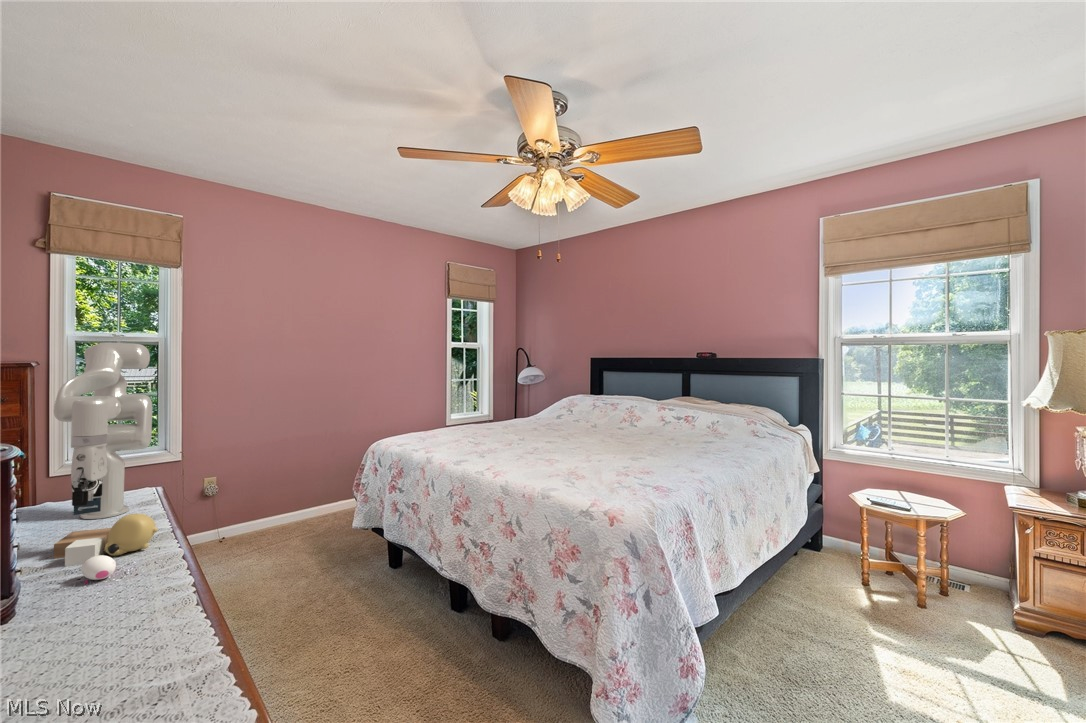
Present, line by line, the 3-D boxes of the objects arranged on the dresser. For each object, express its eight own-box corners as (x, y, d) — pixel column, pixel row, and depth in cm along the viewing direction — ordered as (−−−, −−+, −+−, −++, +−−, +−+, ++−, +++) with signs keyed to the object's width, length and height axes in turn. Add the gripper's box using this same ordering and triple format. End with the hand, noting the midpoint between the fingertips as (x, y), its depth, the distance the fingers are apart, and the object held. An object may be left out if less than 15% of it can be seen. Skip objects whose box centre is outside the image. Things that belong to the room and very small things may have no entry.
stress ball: (116, 590, 117) (134, 563, 121) (85, 584, 111) (105, 556, 114) (96, 584, 119) (115, 557, 123) (65, 578, 113) (85, 550, 116)
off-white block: (75, 558, 128) (76, 540, 128) (103, 554, 130) (104, 537, 130) (64, 566, 122) (65, 548, 122) (94, 563, 125) (95, 544, 125)
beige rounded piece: (128, 558, 136) (91, 540, 131) (163, 521, 142) (130, 503, 137) (130, 568, 129) (92, 550, 124) (167, 529, 135) (132, 510, 130)
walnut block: (72, 545, 136) (72, 531, 136) (115, 540, 140) (116, 527, 140) (53, 558, 127) (53, 544, 127) (100, 553, 131) (101, 539, 131)
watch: (73, 517, 128) (74, 478, 128) (74, 510, 134) (75, 472, 134) (100, 512, 132) (101, 474, 132) (101, 506, 138) (102, 469, 138)
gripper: (92, 445, 127) (90, 508, 127) (118, 435, 143) (116, 491, 143) (55, 446, 124) (53, 511, 124) (86, 437, 140) (84, 494, 139)
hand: (87, 500), depth 133 cm, fingers closed on watch, 8 cm apart
